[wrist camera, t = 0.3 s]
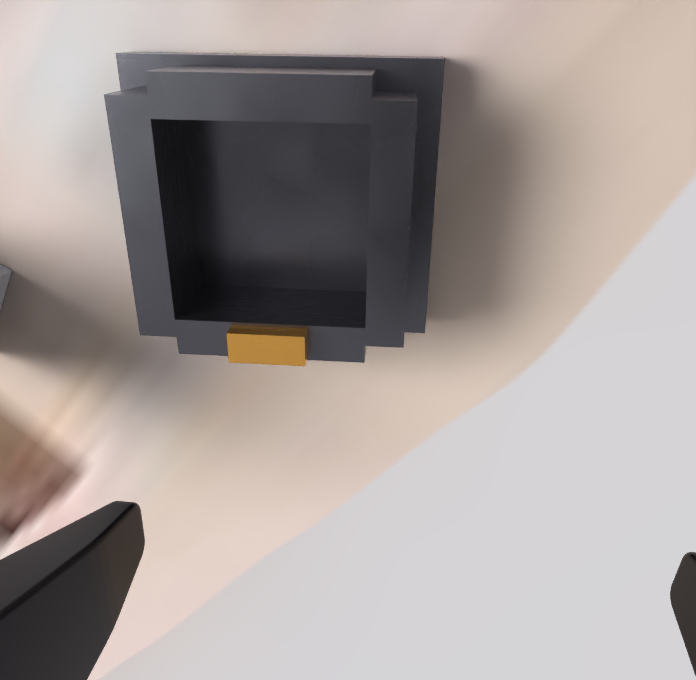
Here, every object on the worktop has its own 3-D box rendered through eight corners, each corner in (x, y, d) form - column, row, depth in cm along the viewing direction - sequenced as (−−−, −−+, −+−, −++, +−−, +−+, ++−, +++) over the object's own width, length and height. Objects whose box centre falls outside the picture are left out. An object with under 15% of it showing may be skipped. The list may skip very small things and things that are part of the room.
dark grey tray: (130, 51, 20) (58, 58, 16) (442, 56, 20) (453, 65, 15) (164, 307, 24) (112, 367, 20) (423, 318, 24) (427, 383, 19)
